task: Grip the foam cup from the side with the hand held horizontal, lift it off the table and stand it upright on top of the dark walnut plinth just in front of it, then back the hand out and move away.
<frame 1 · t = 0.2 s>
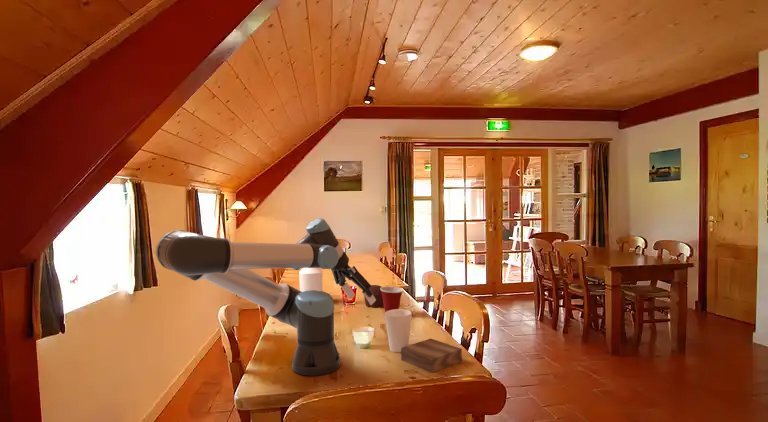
hand: (362, 299, 165), 15 cm above the table, tool tilted 35°, fingers open, 13 cm apart
walnut plinth: (431, 360, 141), on the table
foam cup: (398, 349, 152), on the table
plastic cup: (392, 314, 198), on the table
muffin: (374, 305, 214), on the table
bottle: (311, 303, 222), on the table
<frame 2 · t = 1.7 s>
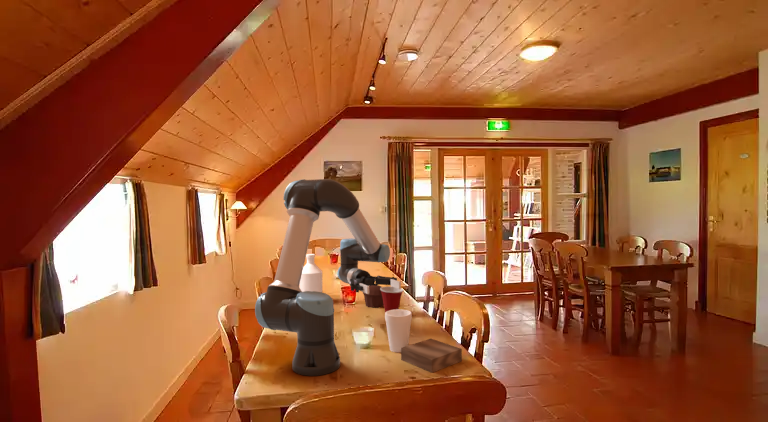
hand: (384, 287, 160), 20 cm above the table, tool horizontal, fingers open, 13 cm apart
nothing on the table moved.
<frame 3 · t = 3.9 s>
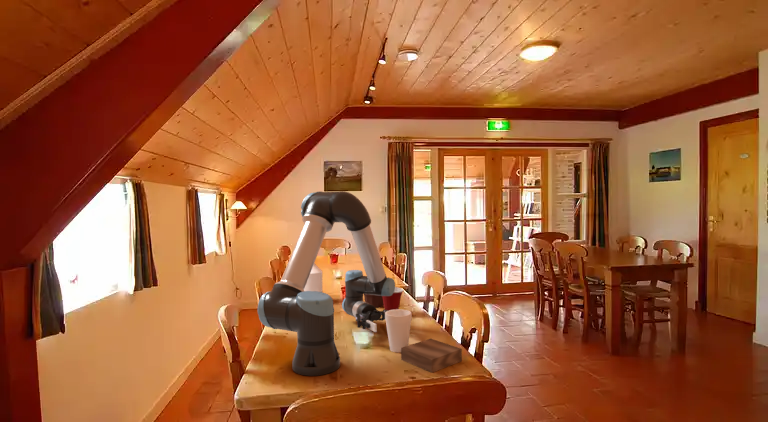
hand: (391, 325, 157), 7 cm above the table, tool horizontal, fingers open, 13 cm apart
nothing on the table moved.
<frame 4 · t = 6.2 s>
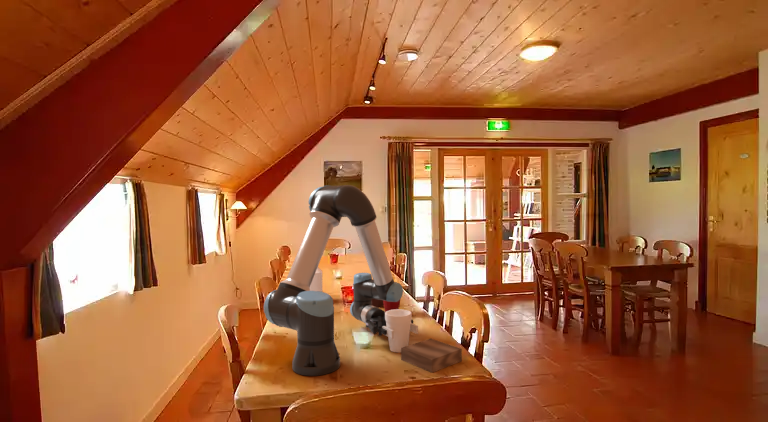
hand: (405, 332, 148), 7 cm above the table, tool horizontal, fingers closed on foam cup, 9 cm apart
foam cup: (398, 349, 152), on the table, touching gripper
everything else where it was.
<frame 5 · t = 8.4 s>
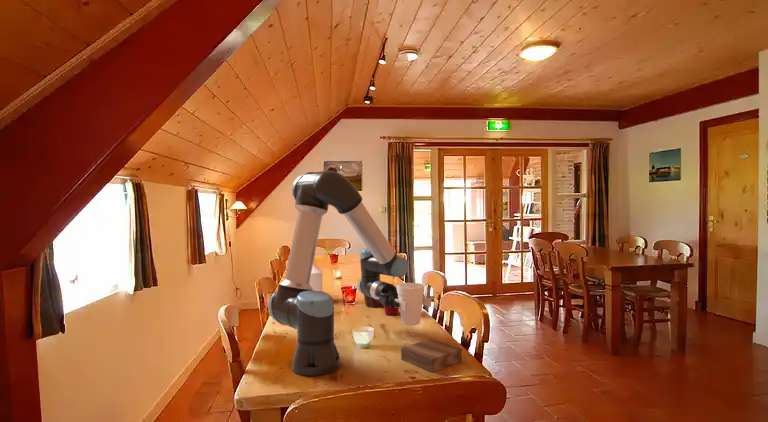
hand: (418, 304, 145), 17 cm above the table, tool horizontal, fingers closed on foam cup, 9 cm apart
foam cup: (410, 323, 149), point 10 cm above the table, touching gripper
everything else where it was.
when the fingers open (12 cm above the table, at t = 10.9 s): foam cup drops 1 cm, resting on walnut plinth.
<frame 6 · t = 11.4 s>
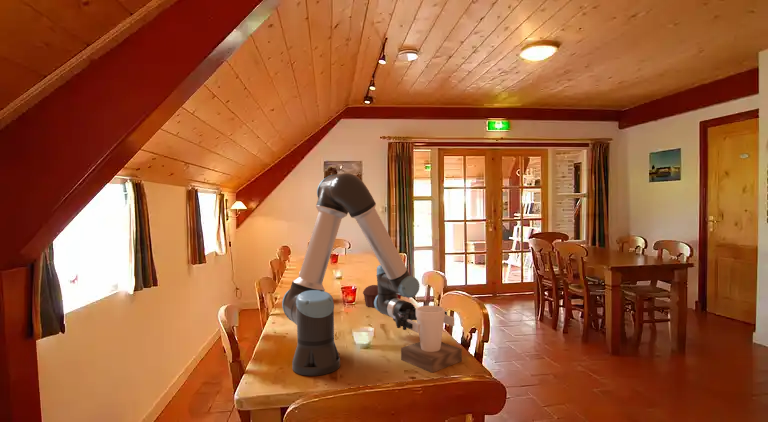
hand: (436, 325, 138), 13 cm above the table, tool horizontal, fingers open, 13 cm apart
foam cup: (430, 348, 141), point 4 cm above the table, touching walnut plinth
everything else where it was.
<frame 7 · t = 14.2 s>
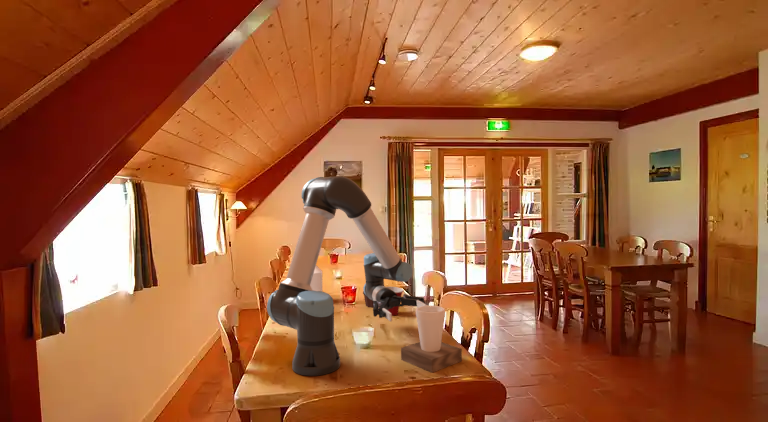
hand: (408, 313, 148), 14 cm above the table, tool horizontal, fingers open, 13 cm apart
nothing on the table moved.
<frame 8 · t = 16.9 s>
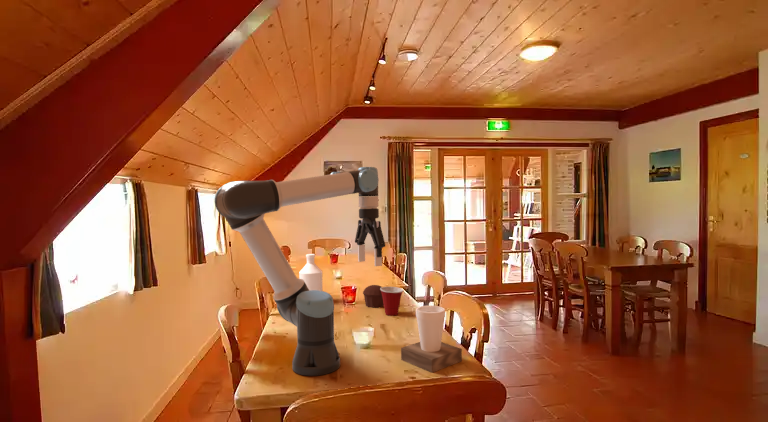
hand: (369, 263, 164), 29 cm above the table, tool pointing down, fingers open, 13 cm apart
nothing on the table moved.
at the end: foam cup inside the target area on the walnut plinth (0.1 cm from its centre), point 3.8 cm above the walnut plinth's base; foam cup tilted 0°; the gripper is holding nothing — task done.
